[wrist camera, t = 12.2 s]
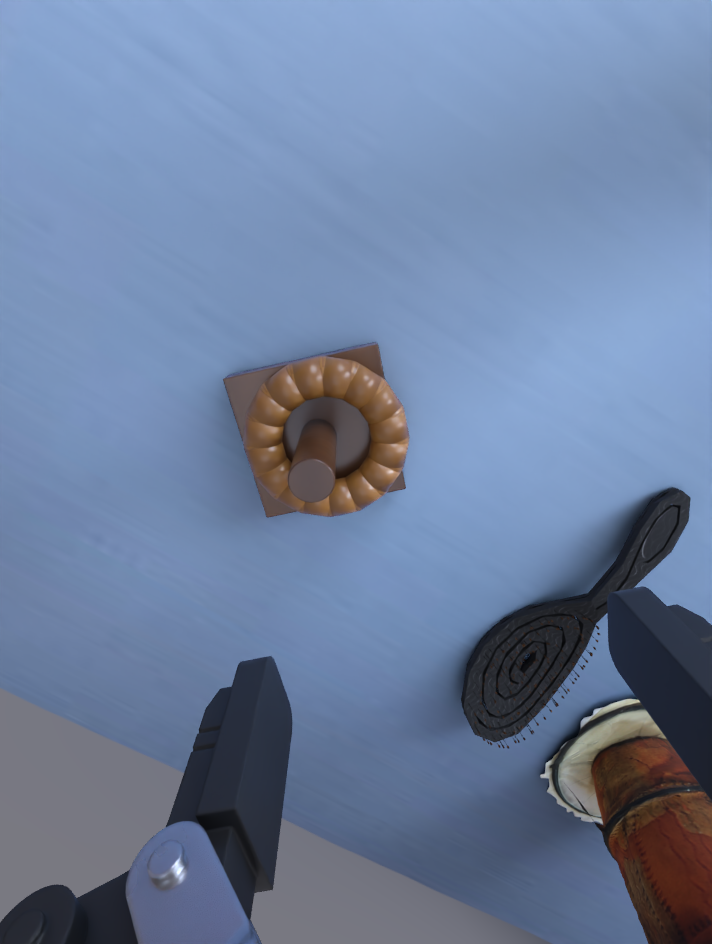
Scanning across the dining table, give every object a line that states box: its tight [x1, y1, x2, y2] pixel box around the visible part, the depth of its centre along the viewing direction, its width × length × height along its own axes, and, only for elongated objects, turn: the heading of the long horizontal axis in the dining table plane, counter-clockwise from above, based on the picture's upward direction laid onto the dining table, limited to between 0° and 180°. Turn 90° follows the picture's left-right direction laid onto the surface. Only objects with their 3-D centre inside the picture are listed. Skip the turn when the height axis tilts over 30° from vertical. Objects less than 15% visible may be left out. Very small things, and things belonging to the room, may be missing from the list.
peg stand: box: [223, 342, 406, 517], centre depth 28 cm, size 10×10×10 cm
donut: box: [243, 356, 409, 517], centre depth 30 cm, size 10×10×2 cm
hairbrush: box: [461, 488, 690, 749], centre depth 37 cm, size 8×4×25 cm
